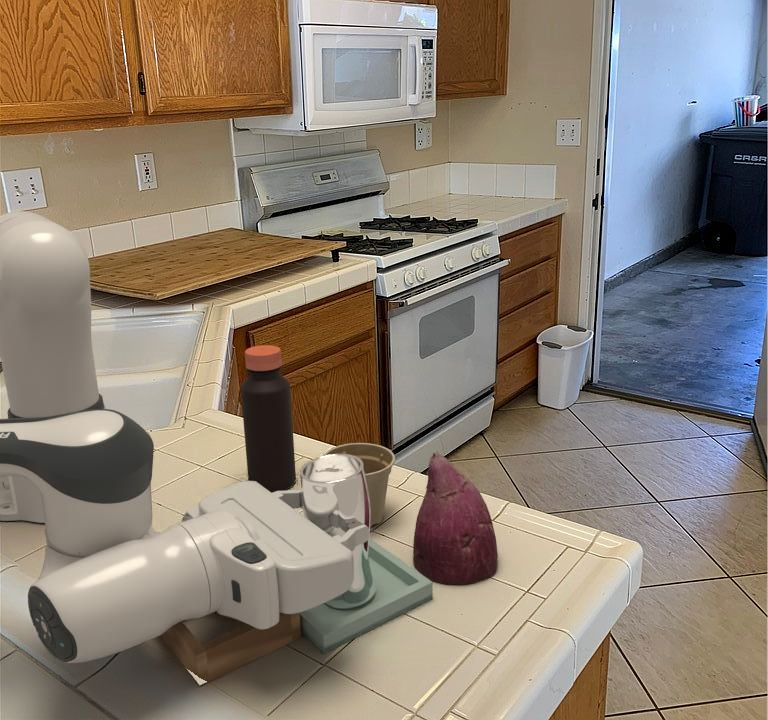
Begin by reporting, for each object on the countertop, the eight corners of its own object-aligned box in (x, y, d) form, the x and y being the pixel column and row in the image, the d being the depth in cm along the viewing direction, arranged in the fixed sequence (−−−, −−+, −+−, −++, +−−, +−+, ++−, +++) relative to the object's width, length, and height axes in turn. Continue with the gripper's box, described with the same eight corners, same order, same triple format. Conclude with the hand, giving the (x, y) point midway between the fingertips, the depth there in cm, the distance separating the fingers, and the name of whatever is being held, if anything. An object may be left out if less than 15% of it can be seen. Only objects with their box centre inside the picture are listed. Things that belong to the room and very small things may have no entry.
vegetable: (400, 588, 89) (362, 475, 86) (451, 541, 96) (417, 434, 93) (471, 603, 82) (433, 480, 79) (520, 551, 89) (487, 436, 86)
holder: (154, 626, 78) (150, 598, 77) (249, 587, 85) (247, 559, 84) (199, 686, 70) (195, 655, 69) (301, 637, 76) (299, 608, 75)
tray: (255, 587, 85) (254, 571, 84) (357, 544, 93) (356, 529, 92) (324, 653, 74) (323, 635, 73) (432, 598, 82) (432, 582, 81)
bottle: (263, 499, 104) (253, 361, 98) (239, 482, 109) (228, 349, 103) (305, 484, 108) (297, 350, 102) (280, 468, 113) (271, 340, 107)
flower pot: (406, 528, 96) (406, 467, 93) (335, 543, 93) (332, 480, 90) (382, 495, 104) (380, 438, 102) (315, 508, 101) (312, 449, 99)
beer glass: (346, 566, 87) (330, 447, 82) (393, 585, 82) (379, 461, 78) (303, 598, 82) (283, 473, 77) (350, 620, 77) (332, 489, 73)
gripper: (177, 542, 81) (289, 501, 89) (273, 640, 65) (398, 580, 73) (171, 489, 79) (285, 452, 87) (268, 577, 63) (397, 523, 71)
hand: (338, 511), depth 80 cm, fingers open, 8 cm apart
